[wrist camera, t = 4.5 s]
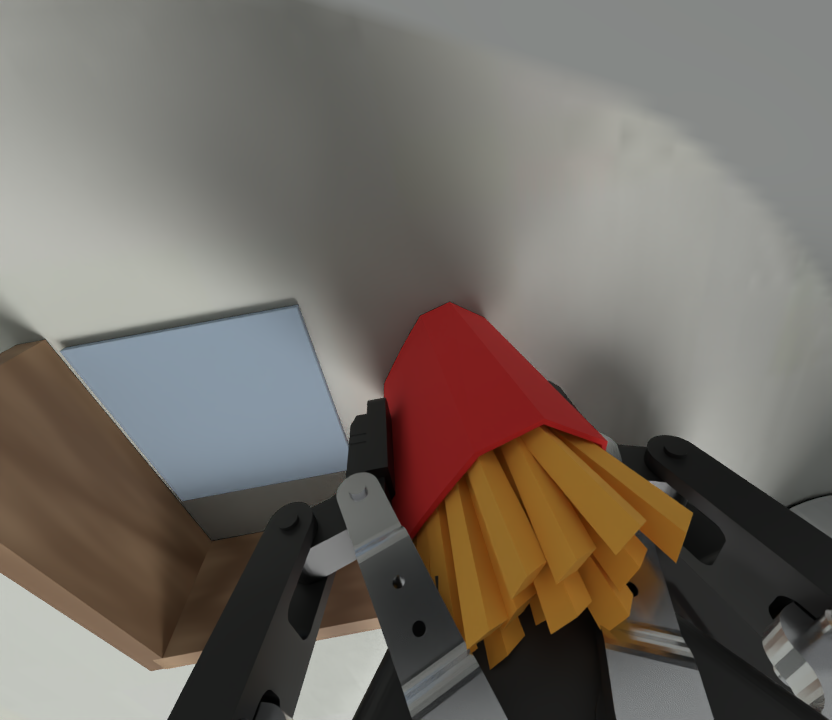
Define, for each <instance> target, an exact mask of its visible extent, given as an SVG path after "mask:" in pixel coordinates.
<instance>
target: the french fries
mask: <svg viewBox="0 0 832 720" xmlns="http://www.w3.org/2000/svg"><path fill="white" fill-rule="evenodd" d="M385 397H386V399H387V402H388V406H389V410H390V414H391V420H392V438H393V456H394V474H395V493H396V494H395V496H394V497H393V499H392V508H393V510H394V512H395V514H396V516H397V518H398V520H399V522H400V524H401V526H404V527H405V529H406V530H407V532H408V534H409V536H410V538H411V540H412V542H413V544H414V545H415V547H416V549H417V551H418V553H419V555H420V557H421V559H422V561H423V563H424V565H425V567H426V568H427V570H428V572H429V574H430V576H431V578H432V580H433V582H434V584H435V586H436V581H435V576H438V591H439V593H440V595H441V597H442V599H443V601H444V603H445V605H446V607H447V609H448V611H449V612H450V614H451V616H452V618H453V620H454V622H455V624H456V626H457V628H458V630H459V632H460V633H461V635H462V637H463V639H464V641H465V643H466V647H467V650H468V649H470V651H471V652H474V651H475V650H476V649H478V647H477V643H478V642H480V641H482V640H483V639H484V643H485V648H486V653H487V658H488V663H489V667H490V670H491V669H492V668H493V667H494V666H496V665H497V664H498V663H499V662H501V661H502V660H503V659H504V658H505V657H507V656H508V655H509V654H510V652H511V651H512V650H513V649H514V648H515V647H516V645H517V644H518V643H519V642H520V641H521V640H522V638H523V637H524V636H525V633H524V631H523V628H522V626H521V623H520V621H519V618H518V616H519V615H520V614H521V613H522V612H523V611H524V610H525V608H526V607H527V606H528V604H529V603H530V607H531V610H532V614H533V617H534V621H535V624H536V625H538V624H540V623H541V622H543V621H545V620H546V621H547V624H548V627H549V630H550V633H551V634H553V633H554V632H556V631H557V630H559V629H560V628H562V627H563V626H565V625H566V624H568V623H569V622H571V621H572V620H574V619H575V618H577V617H578V616H579V615H580V614H581V613H582V612H583V611H584V610H585V608H586V607H588V609H589V611H590V613H591V614H592V616H593V618H594V620H595V621H596V623H597V625H598V627H599V628H600V625H601V626H603V627H604V628H606V629H608V630H609V631H610V630H612V629H613V628H614V627H616V626H617V625H618V624H620V623H621V622H622V621H624V620H625V619H626V618H628V617H629V616H630V610H631V604H632V599H633V594H632V592H631V591H630V589H629V588H628V586H627V585H626V584H627V583H628V581H629V580H630V579H631V578H632V577H633V576H634V575H635V573H636V572H637V571H638V570H639V569H640V567H641V565H642V562H643V560H644V557H645V554H646V552H647V548H646V547H645V546H644V545H643V543H642V542H641V541H640V540H639V539H638V538H637V537H636V535H635V534H636V532H637V531H638V530H640V531H641V532H642V533H643V534H644V535H645V536H647V537H648V538H649V539H650V540H651V541H652V542H653V543H654V544H655V545H656V546H658V547H659V548H660V549H661V550H662V551H663V552H664V553H665V554H666V555H667V556H669V557H670V558H671V559H672V560H673V561H674V562H675V563H676V562H677V560H678V557H679V554H680V551H681V548H682V545H683V542H684V540H685V537H686V533H687V530H688V527H689V524H690V521H691V518H692V515H693V512H691V511H690V510H688V509H687V508H686V507H684V506H683V505H681V504H680V503H678V502H677V501H676V500H674V499H673V498H671V497H670V496H669V495H667V494H666V493H664V492H663V491H662V490H660V489H659V488H657V487H656V486H654V485H653V484H652V483H650V482H649V481H647V480H646V479H645V478H643V477H642V476H640V475H639V474H637V473H636V472H635V471H633V470H632V469H630V468H629V467H627V466H626V465H625V464H623V463H622V462H620V461H619V460H617V459H616V458H615V457H613V456H612V455H610V454H609V453H607V452H606V447H607V443H608V441H607V440H606V439H605V438H604V437H603V436H602V435H601V434H600V433H599V432H598V431H597V430H596V429H595V428H594V427H593V426H592V425H591V424H590V423H589V422H588V421H587V420H586V419H585V418H584V417H583V416H582V415H581V414H580V413H579V412H578V411H577V410H576V409H575V408H574V407H573V406H572V405H571V404H570V403H569V402H568V401H567V400H566V399H565V398H564V397H563V396H562V395H561V394H560V393H559V392H558V391H557V390H556V389H555V388H554V387H553V386H552V385H551V384H550V383H549V382H548V381H547V380H546V379H545V378H544V377H543V376H542V375H541V374H540V373H539V372H538V371H537V370H536V369H535V368H534V367H533V366H532V365H531V364H530V363H529V362H528V361H527V360H526V359H525V358H524V357H523V356H522V355H521V354H520V353H519V352H518V351H517V350H516V349H515V348H514V347H513V346H512V345H511V344H510V343H509V342H508V341H507V340H506V339H505V338H504V337H503V336H502V335H501V334H500V333H499V332H498V331H497V330H496V329H495V328H494V327H493V326H492V325H491V324H490V323H489V322H488V321H487V320H486V319H485V318H484V317H482V316H480V315H478V314H475V313H473V312H471V311H469V310H466V309H464V308H462V307H460V306H458V305H455V304H453V303H451V302H448V303H446V304H444V305H442V306H440V307H438V308H436V309H433V310H431V311H429V312H427V313H425V314H423V315H421V316H420V317H419V319H418V320H417V322H416V324H415V325H414V327H413V329H412V331H411V332H410V334H409V336H408V338H407V339H406V341H405V343H404V345H403V347H402V348H401V350H400V352H399V354H398V356H397V358H396V360H395V362H394V364H393V366H392V368H391V370H390V372H389V374H388V377H387V379H386V381H385V383H384V398H385Z"/></svg>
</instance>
